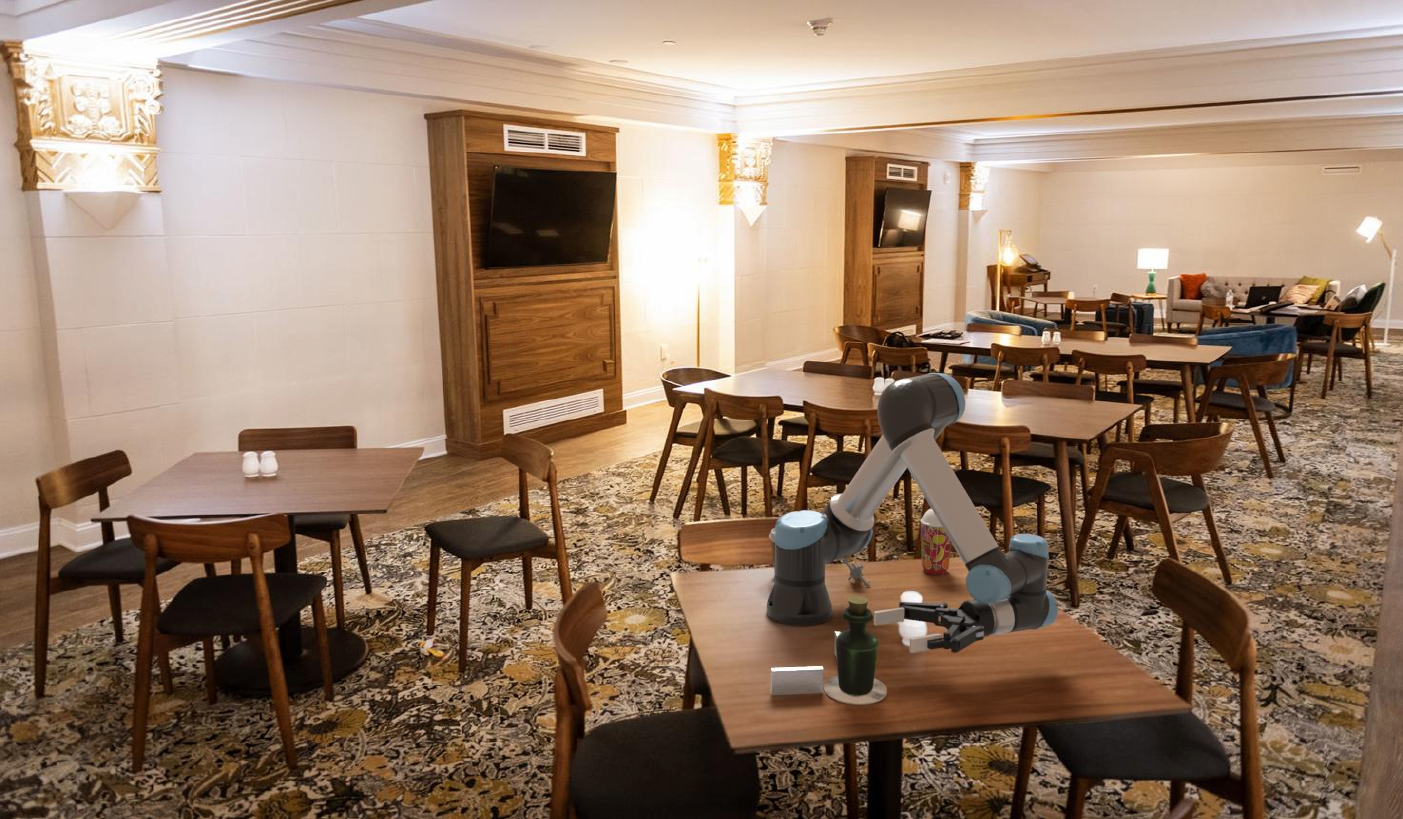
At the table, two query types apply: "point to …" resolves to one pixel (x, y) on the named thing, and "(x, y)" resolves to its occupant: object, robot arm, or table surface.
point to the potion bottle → (856, 649)
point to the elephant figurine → (855, 571)
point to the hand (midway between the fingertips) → (891, 631)
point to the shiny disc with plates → (820, 684)
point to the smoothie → (934, 545)
